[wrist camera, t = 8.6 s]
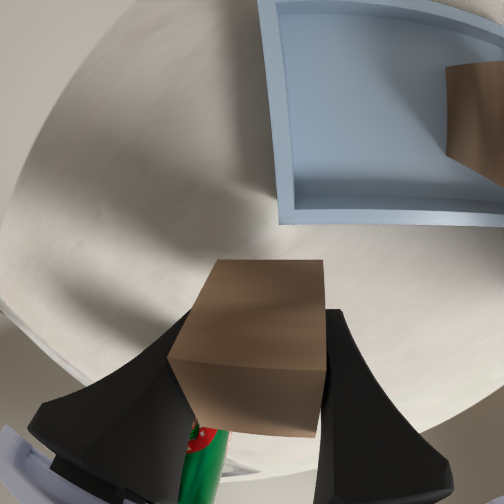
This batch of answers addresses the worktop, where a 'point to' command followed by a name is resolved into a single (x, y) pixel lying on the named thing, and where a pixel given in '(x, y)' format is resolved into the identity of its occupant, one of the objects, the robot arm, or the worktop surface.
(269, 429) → the walnut block
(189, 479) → the soda can
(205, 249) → the worktop surface
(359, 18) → the tray
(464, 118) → the walnut block
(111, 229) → the worktop surface
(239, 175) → the worktop surface
